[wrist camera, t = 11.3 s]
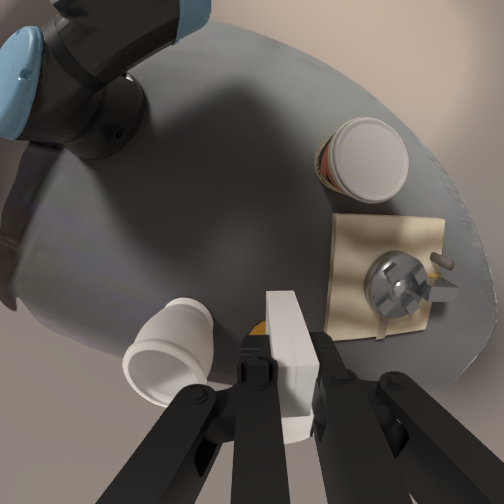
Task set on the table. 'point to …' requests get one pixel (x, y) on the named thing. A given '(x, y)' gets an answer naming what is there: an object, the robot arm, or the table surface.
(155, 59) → the table surface
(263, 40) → the table surface
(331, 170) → the coffee cup
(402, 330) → the housing plate
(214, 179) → the table surface
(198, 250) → the table surface
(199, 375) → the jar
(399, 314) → the grey notched machine part
